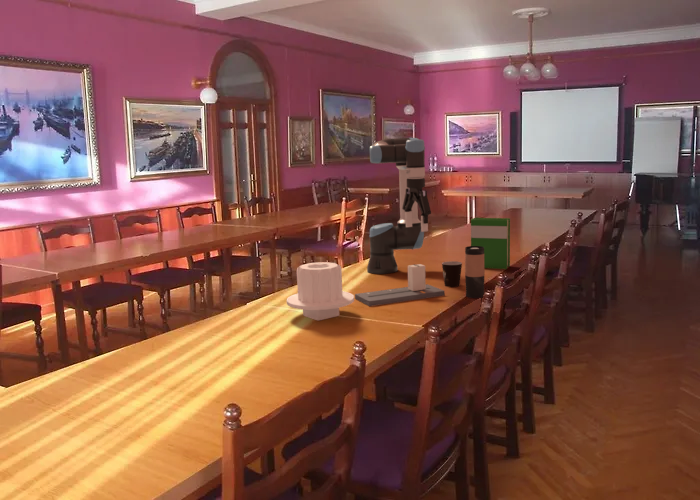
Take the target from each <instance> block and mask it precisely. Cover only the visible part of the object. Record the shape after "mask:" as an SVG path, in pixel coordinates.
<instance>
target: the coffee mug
mask: <svg viewBox="0 0 700 500" xmlns="http://www.w3.org/2000/svg"><path fill="white" fill-rule="evenodd" d="M441 265H442V266H441V267H442V277H443V281H444V286H445V287H446V288H457V287H460V284H461V276H462V275H461V274H462V266H463V262H461V261H452V260H451V261H450V260H449V261H443V262H441Z"/></svg>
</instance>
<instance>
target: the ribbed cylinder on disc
mask: <svg viewBox="0 0 700 500" xmlns="http://www.w3.org/2000/svg"><path fill="white" fill-rule="evenodd" d="M342 274H343V273H342V266H341V265H340V264H337V262H328V261H327V262H326V261H324V262H322V261H321V262H318V261H317V262H310V263H306V264H300V265H299V266H298V267H297V268H296V282H297V283H296V285H297V293H294V294H292V295H289V296H288V297H287V298H286V305H287V306H288V307H290V308H293V309H297V310H302V315H303V316H304V317H305V318H309V319H312V320H315V321H317V322H318V321H323V320H327V319H331V318H336V317H338V316H340V308H343V307H346V306H349V305H351V304H353V303H354V302H355V294H353V293H350V292H348V291H344V290H343V275H342Z"/></svg>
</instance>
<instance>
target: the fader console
mask: <svg viewBox="0 0 700 500" xmlns="http://www.w3.org/2000/svg"><path fill="white" fill-rule="evenodd" d="M425 285H426V289H425V290H417V291H411V290H409V289H408V286H405V287H397V288H390V289H382V290H376V291H368V292H360V293H355V294H354V300H356V301H358V302H360V303H363V304H364V305H366V306H368V307H374V306H375V307H376V306H379V305H380V306H381V305H386V304H388V305H389V304H395V303H401V302H403V303H404V302H408V301H416V300H421V299H429V298H430V299H431V298H437V297H444V296H445V290H444V289H442V288H439V287H436V286H434V285H431V284H428V283H427V284H426V283H425Z"/></svg>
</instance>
